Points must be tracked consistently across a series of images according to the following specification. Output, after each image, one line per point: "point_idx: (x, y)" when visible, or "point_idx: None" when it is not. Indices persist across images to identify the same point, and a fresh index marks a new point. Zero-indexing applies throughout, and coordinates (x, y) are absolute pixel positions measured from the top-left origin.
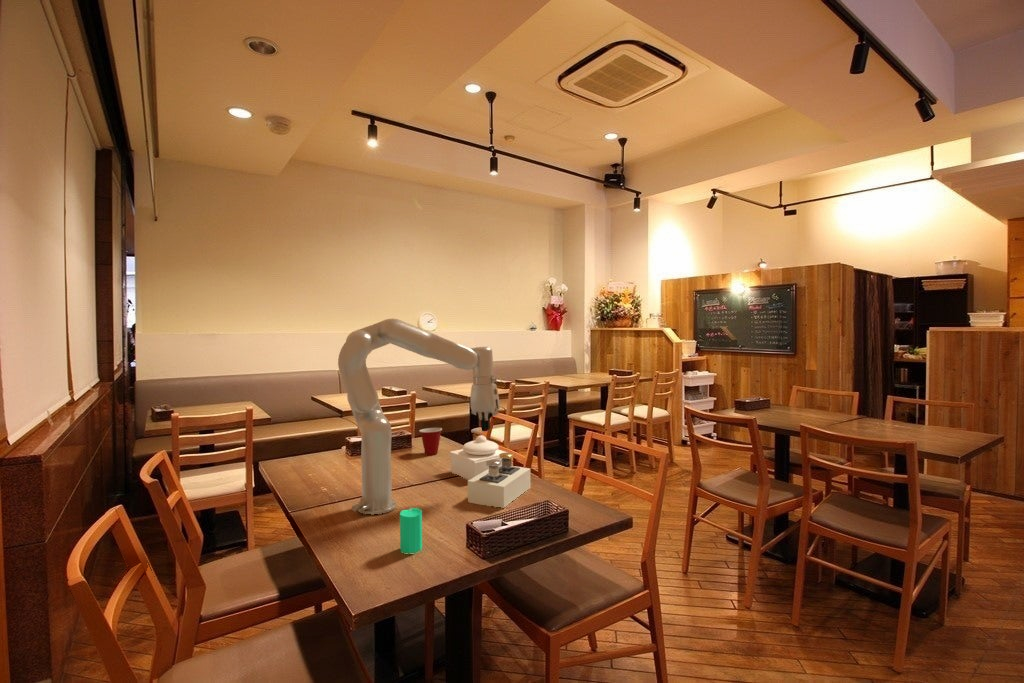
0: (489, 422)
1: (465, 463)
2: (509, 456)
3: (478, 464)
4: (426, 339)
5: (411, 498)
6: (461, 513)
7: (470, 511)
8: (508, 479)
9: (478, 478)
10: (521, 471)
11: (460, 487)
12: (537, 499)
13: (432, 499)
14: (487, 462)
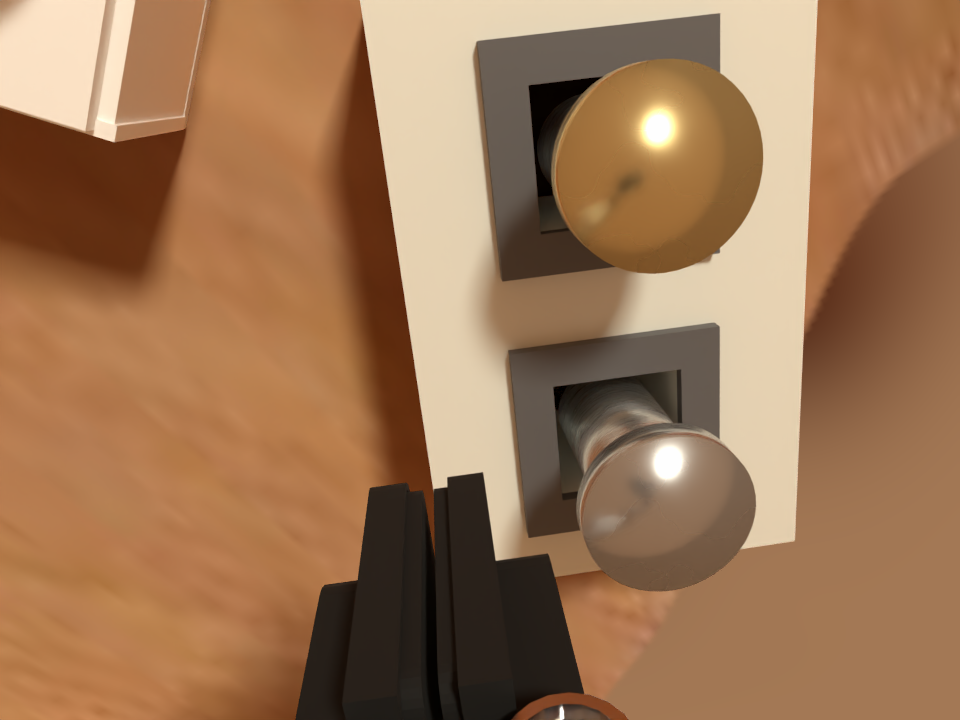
0: (578, 681)
1: None
2: (739, 224)
3: (132, 77)
4: None
5: (52, 646)
6: None
7: None
8: (751, 379)
9: (491, 502)
10: (766, 87)
11: (162, 290)
12: (870, 177)
13: (190, 585)
14: (622, 574)
